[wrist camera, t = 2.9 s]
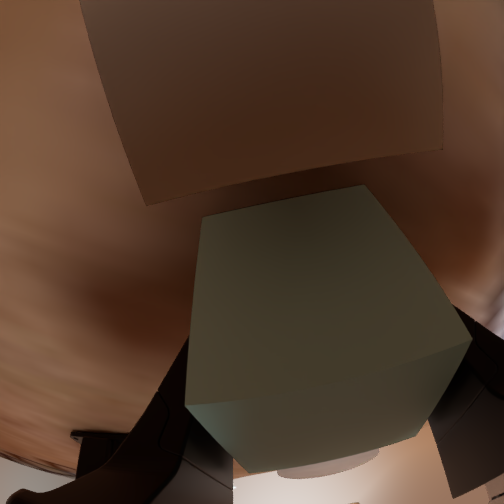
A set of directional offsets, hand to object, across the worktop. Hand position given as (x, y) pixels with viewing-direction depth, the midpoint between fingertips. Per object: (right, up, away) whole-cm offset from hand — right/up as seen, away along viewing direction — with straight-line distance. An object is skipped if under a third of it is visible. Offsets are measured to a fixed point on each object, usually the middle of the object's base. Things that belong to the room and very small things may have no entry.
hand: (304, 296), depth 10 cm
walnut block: (-2, +7, -3) cm, 8 cm away
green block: (0, +1, +1) cm, 2 cm away
